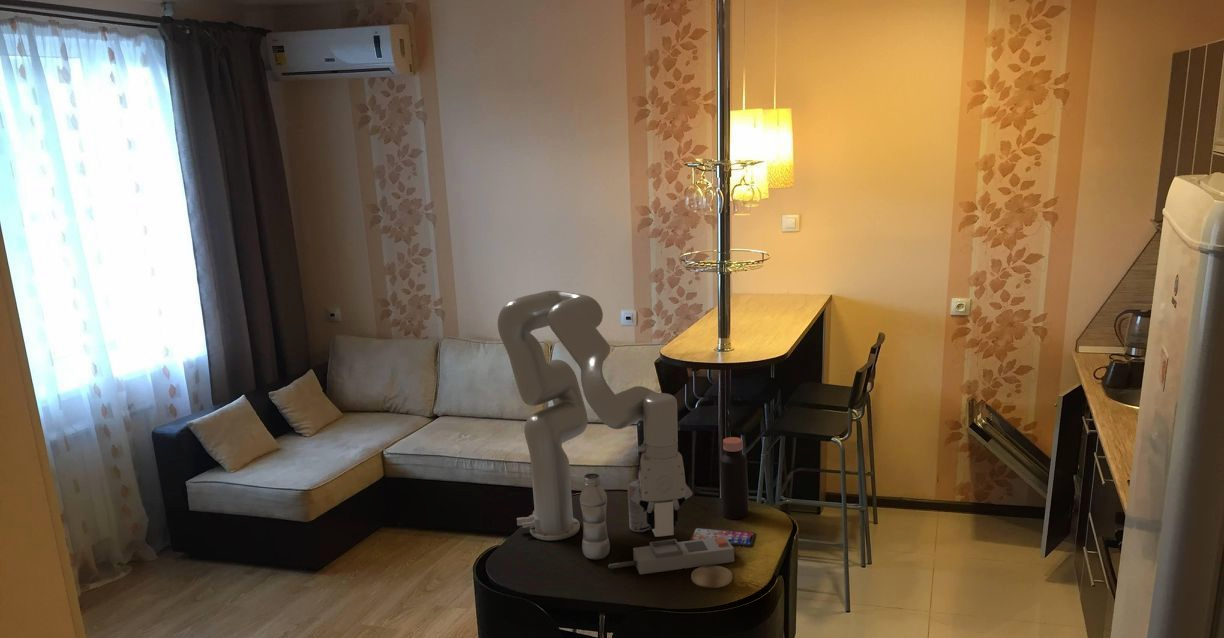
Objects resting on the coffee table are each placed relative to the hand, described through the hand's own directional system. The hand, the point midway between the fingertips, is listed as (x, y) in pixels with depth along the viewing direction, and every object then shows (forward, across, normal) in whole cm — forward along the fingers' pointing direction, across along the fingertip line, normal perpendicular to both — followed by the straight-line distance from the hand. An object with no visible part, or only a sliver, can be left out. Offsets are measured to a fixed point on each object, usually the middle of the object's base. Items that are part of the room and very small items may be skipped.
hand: (662, 524), depth 190 cm
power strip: (+9, +1, -1) cm, 10 cm away
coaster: (+9, +9, -10) cm, 16 cm away
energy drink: (+10, -1, +19) cm, 22 cm away
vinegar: (+10, +24, +20) cm, 32 cm away
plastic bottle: (+10, -14, +7) cm, 19 cm away
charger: (+2, 0, 0) cm, 2 cm away
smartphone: (+10, +17, +8) cm, 21 cm away
